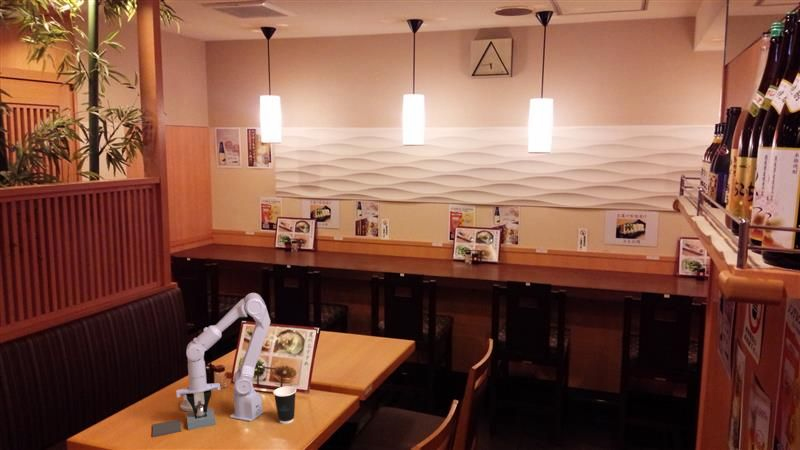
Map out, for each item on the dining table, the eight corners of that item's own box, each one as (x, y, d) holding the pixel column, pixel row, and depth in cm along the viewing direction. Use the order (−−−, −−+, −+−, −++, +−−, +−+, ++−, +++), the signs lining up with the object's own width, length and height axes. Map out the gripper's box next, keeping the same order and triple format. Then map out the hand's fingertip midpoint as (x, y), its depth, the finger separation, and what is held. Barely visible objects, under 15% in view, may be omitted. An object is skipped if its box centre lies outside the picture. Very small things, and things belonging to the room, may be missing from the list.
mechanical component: (175, 411, 219) (199, 412, 217) (174, 400, 219) (198, 401, 217) (189, 399, 229) (213, 401, 227) (188, 389, 228) (212, 390, 226)
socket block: (213, 414, 215) (212, 407, 214) (215, 424, 206) (214, 418, 206) (187, 419, 211) (186, 412, 211) (188, 430, 203) (187, 423, 203)
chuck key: (205, 417, 212) (203, 399, 211) (206, 423, 207) (204, 405, 206) (196, 419, 211) (194, 401, 210) (197, 425, 206) (195, 407, 205)
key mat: (180, 420, 211) (180, 419, 211) (181, 431, 202) (180, 429, 202) (153, 425, 207) (153, 424, 207) (152, 437, 199) (152, 435, 199)
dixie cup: (292, 413, 213) (290, 384, 212) (301, 421, 207) (300, 391, 205) (271, 420, 209) (269, 390, 207) (280, 428, 202) (278, 397, 201)
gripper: (217, 368, 213) (220, 404, 215) (175, 375, 208) (178, 411, 210) (219, 374, 207) (222, 411, 208) (175, 382, 201) (178, 419, 203)
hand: (200, 412), depth 209 cm, fingers closed on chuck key, 3 cm apart
